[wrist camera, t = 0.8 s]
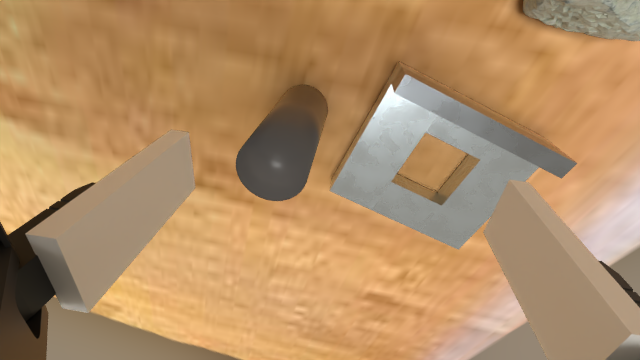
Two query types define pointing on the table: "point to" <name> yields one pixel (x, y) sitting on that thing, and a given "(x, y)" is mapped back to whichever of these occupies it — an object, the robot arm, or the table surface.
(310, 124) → the dark grey round peg
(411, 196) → the plate
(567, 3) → the decorative stone
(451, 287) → the table surface
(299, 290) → the table surface
